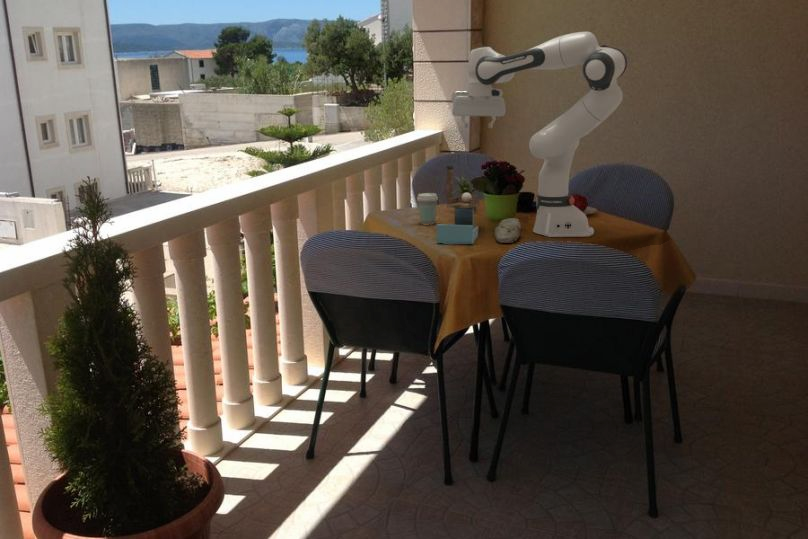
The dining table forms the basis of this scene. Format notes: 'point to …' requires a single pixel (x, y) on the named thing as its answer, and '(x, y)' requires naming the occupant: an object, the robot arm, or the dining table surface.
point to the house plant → (464, 186)
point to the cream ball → (466, 197)
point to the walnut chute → (458, 201)
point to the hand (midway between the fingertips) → (478, 128)
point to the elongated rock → (508, 230)
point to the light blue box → (456, 234)
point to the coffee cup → (427, 207)
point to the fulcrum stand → (464, 216)
